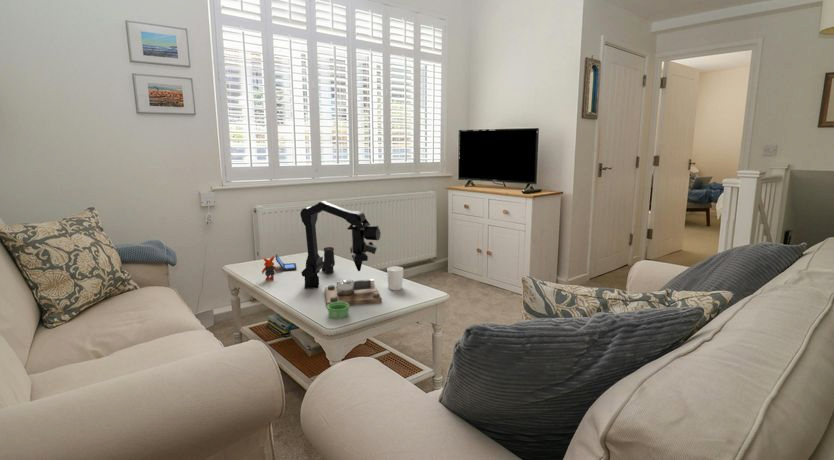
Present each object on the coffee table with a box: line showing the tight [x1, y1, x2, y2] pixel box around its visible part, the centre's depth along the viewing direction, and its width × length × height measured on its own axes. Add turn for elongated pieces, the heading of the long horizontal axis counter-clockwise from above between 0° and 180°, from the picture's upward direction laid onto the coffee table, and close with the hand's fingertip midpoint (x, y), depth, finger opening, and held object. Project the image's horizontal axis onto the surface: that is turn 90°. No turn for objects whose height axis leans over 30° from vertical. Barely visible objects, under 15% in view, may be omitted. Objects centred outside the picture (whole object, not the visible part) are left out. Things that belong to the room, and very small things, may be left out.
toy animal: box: [261, 256, 278, 282], centre depth 234 cm, size 8×6×12 cm
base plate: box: [324, 283, 383, 306], centre depth 209 cm, size 24×21×3 cm
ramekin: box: [326, 302, 350, 320], centre depth 188 cm, size 9×9×4 cm
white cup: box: [386, 265, 404, 291], centre depth 221 cm, size 8×8×10 cm
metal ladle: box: [336, 278, 375, 296], centre depth 209 cm, size 17×8×6 cm, turn 107°
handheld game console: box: [275, 254, 297, 272], centre depth 254 cm, size 12×11×7 cm
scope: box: [321, 246, 336, 275], centre depth 246 cm, size 8×14×10 cm
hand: (359, 270), depth 215 cm, fingers closed
